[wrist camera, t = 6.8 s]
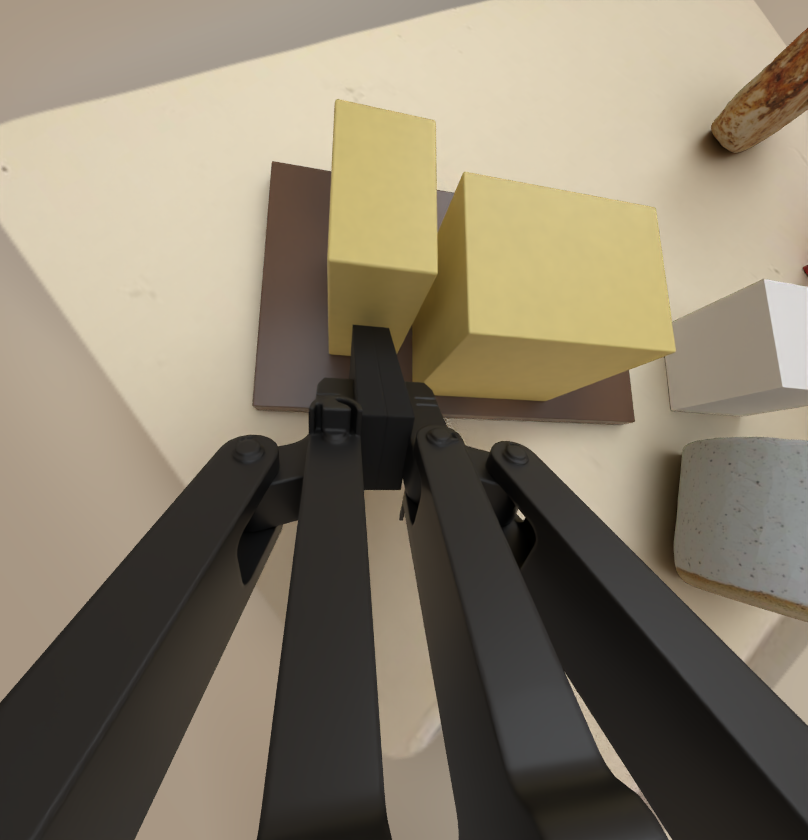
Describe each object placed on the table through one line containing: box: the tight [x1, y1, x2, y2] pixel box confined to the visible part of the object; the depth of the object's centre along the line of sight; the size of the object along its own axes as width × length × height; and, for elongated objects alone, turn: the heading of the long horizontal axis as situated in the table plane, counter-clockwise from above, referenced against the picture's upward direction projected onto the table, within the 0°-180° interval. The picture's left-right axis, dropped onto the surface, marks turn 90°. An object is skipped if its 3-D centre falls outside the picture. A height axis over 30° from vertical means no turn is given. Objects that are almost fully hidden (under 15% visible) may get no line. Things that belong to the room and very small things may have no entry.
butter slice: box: [327, 99, 438, 356], centre depth 15 cm, size 4×6×8 cm, turn 0°
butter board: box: [253, 161, 635, 425], centre depth 21 cm, size 22×14×1 cm, turn 90°
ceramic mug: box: [674, 437, 808, 622], centre depth 19 cm, size 11×8×8 cm
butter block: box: [412, 172, 676, 401], centre depth 16 cm, size 8×6×8 cm
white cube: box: [665, 279, 808, 416], centre depth 22 cm, size 6×6×6 cm
